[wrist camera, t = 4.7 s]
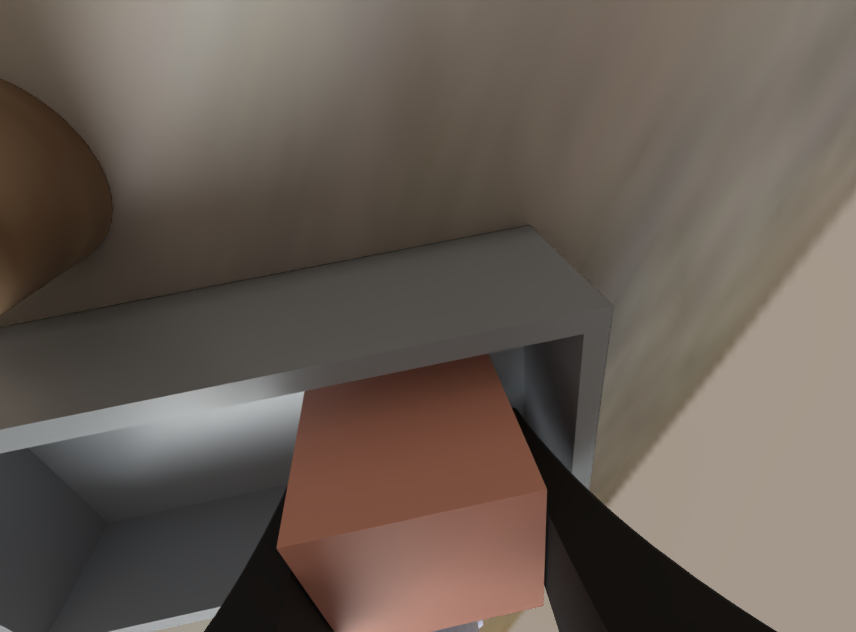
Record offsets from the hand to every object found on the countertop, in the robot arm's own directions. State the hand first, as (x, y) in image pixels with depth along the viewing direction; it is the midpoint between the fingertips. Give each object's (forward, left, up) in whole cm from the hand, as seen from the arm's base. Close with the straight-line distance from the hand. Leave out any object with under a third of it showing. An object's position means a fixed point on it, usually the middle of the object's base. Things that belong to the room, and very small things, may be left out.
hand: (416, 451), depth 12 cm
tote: (0, +4, -4) cm, 6 cm away
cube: (0, 0, -1) cm, 1 cm away
